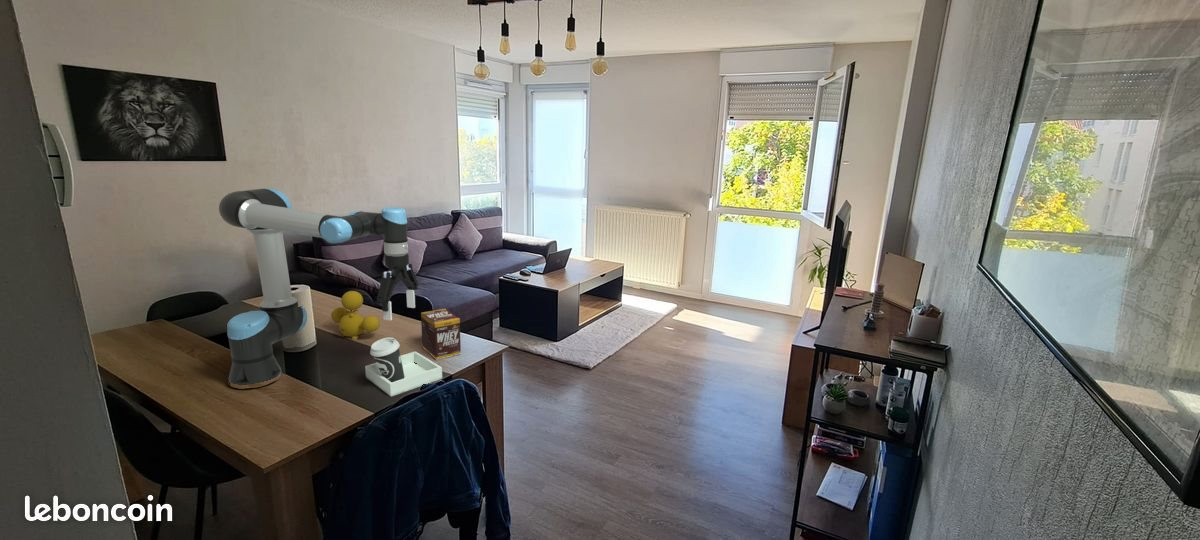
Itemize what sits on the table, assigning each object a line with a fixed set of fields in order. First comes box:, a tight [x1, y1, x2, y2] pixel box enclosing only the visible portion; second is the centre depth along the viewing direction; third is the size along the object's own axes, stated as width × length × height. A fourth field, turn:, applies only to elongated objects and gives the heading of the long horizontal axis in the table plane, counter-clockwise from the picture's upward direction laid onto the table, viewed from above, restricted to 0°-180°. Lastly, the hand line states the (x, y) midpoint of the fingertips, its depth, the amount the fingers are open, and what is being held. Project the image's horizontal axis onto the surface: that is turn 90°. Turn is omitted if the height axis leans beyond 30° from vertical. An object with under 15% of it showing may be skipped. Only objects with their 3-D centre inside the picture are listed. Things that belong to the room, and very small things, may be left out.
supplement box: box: [420, 308, 462, 359], centre depth 197 cm, size 10×15×16 cm
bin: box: [364, 351, 443, 397], centre depth 175 cm, size 19×19×4 cm
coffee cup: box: [369, 336, 405, 382], centre depth 168 cm, size 10×10×15 cm
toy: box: [330, 290, 381, 340], centre depth 207 cm, size 26×10×20 cm, turn 63°
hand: (399, 313), depth 169 cm, fingers open, 13 cm apart
